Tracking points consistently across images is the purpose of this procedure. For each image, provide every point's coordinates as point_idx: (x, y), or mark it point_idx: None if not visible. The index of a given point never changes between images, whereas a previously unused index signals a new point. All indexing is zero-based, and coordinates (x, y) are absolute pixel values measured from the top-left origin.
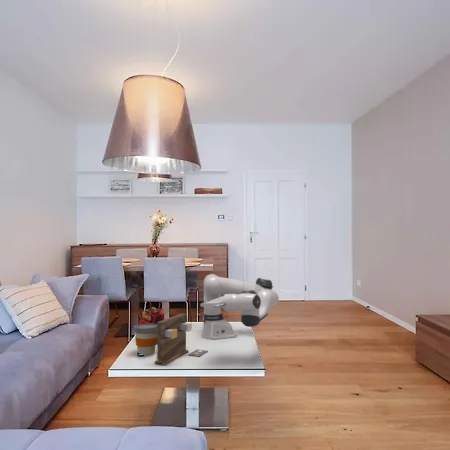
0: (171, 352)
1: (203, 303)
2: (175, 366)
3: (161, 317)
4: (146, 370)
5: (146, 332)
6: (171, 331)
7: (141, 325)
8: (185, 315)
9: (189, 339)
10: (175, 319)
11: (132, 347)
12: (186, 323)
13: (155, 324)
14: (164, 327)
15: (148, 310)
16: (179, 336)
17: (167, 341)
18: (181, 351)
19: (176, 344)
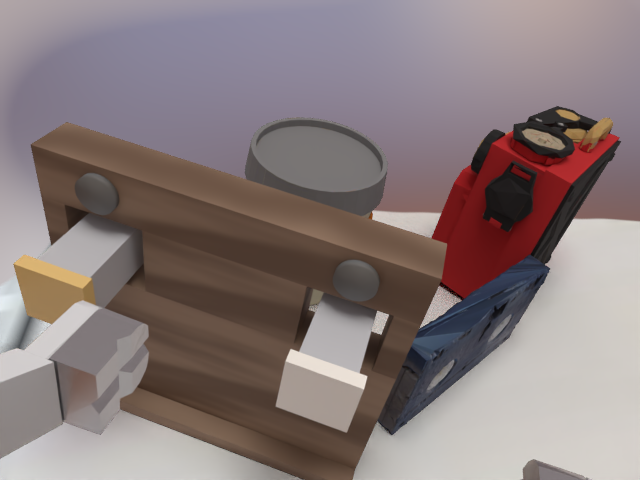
0: (171, 379)
1: (5, 352)
2: (34, 455)
3: (540, 194)
4: (10, 311)
5: (248, 174)
6: (24, 260)
7: (353, 140)
8: (427, 287)
9: (629, 455)
10: (236, 225)
11: (374, 217)
12: (349, 346)
13: (369, 183)
14: (68, 195)
15: (566, 118)
16: (284, 364)
17: (120, 301)
18: (294, 443)
19: (236, 379)
